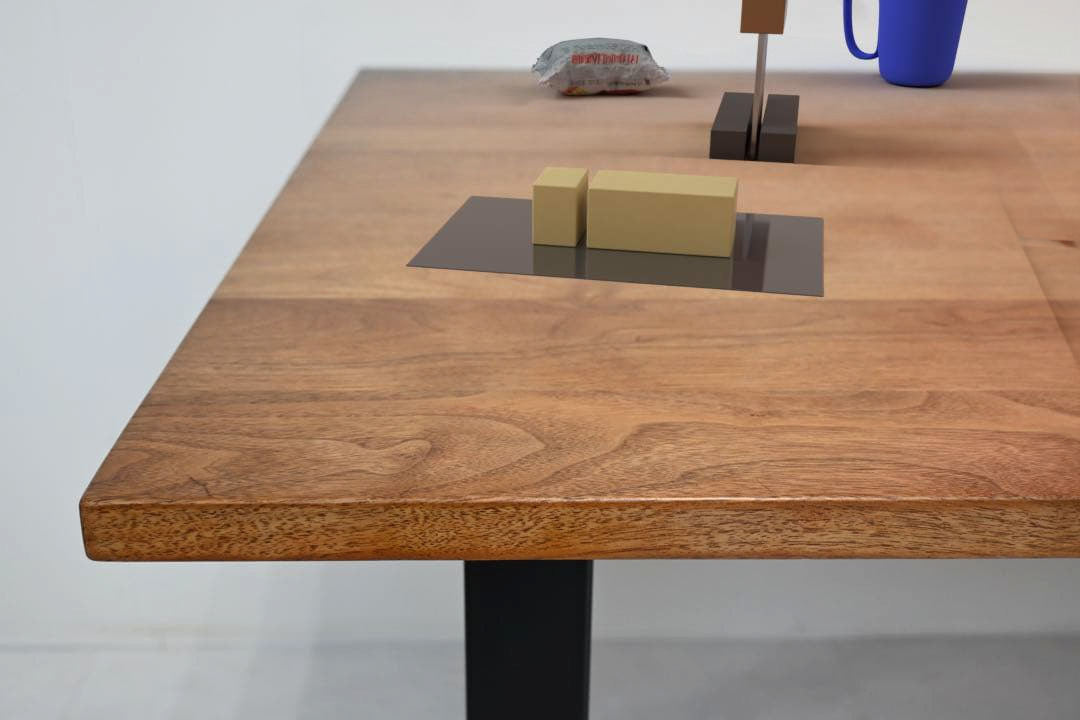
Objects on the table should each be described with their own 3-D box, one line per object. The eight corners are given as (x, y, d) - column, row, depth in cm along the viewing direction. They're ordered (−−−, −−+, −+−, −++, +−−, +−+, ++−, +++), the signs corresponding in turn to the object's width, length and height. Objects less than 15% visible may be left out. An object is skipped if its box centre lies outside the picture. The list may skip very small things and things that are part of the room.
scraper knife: (777, 130, 100) (790, -26, 95) (773, 161, 91) (786, -10, 86) (739, 128, 101) (750, -27, 96) (731, 158, 92) (742, -11, 87)
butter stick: (734, 236, 72) (738, 177, 71) (730, 258, 69) (734, 196, 67) (597, 227, 74) (599, 169, 72) (586, 248, 70) (587, 187, 69)
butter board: (821, 236, 76) (823, 217, 76) (821, 318, 64) (823, 296, 63) (471, 213, 80) (470, 195, 80) (406, 286, 68) (405, 265, 67)
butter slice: (587, 226, 74) (588, 168, 73) (575, 247, 70) (576, 186, 69) (546, 224, 74) (546, 166, 73) (532, 244, 71) (532, 184, 69)
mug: (852, 67, 129) (862, -35, 125) (969, 80, 123) (984, -27, 119) (819, 79, 123) (829, -27, 119) (941, 93, 116) (955, -18, 113)
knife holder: (796, 132, 102) (799, 95, 101) (792, 175, 89) (796, 134, 88) (722, 128, 103) (724, 91, 102) (708, 171, 90) (710, 129, 89)
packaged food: (670, 103, 112) (672, 46, 110) (537, 105, 111) (538, 48, 109) (653, 85, 120) (655, 32, 118) (529, 87, 119) (529, 34, 117)
